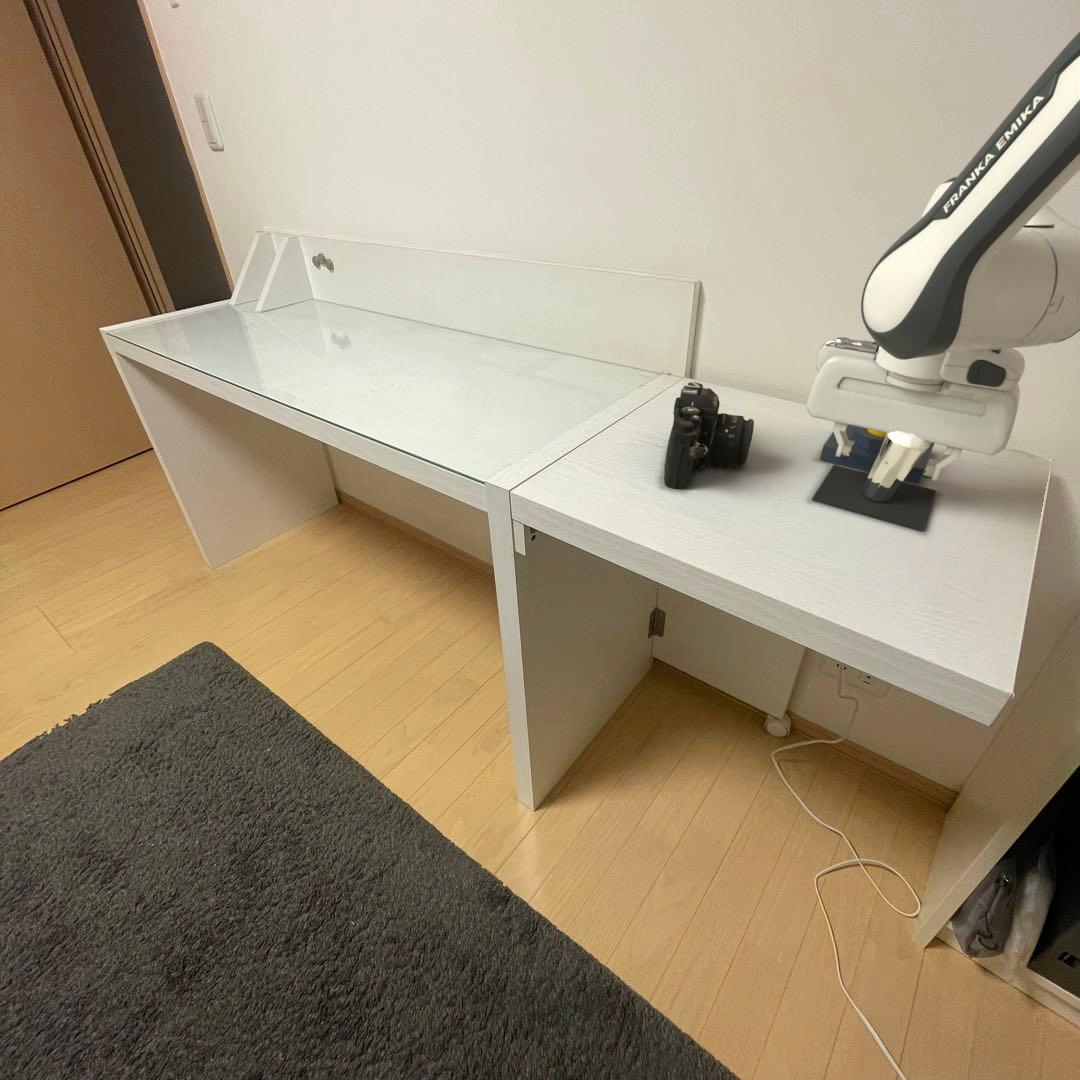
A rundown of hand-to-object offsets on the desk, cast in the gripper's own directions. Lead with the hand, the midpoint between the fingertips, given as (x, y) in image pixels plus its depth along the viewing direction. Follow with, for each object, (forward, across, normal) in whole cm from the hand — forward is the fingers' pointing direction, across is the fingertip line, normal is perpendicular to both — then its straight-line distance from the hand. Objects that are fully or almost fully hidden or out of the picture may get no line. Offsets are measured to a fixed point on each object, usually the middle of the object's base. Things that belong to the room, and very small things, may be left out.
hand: (885, 466), depth 72 cm
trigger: (+1, -2, +11) cm, 11 cm away
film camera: (+4, -21, -3) cm, 22 cm away
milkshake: (+4, 0, 0) cm, 4 cm away
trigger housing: (+4, -2, +11) cm, 12 cm away
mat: (+4, 0, 0) cm, 4 cm away
